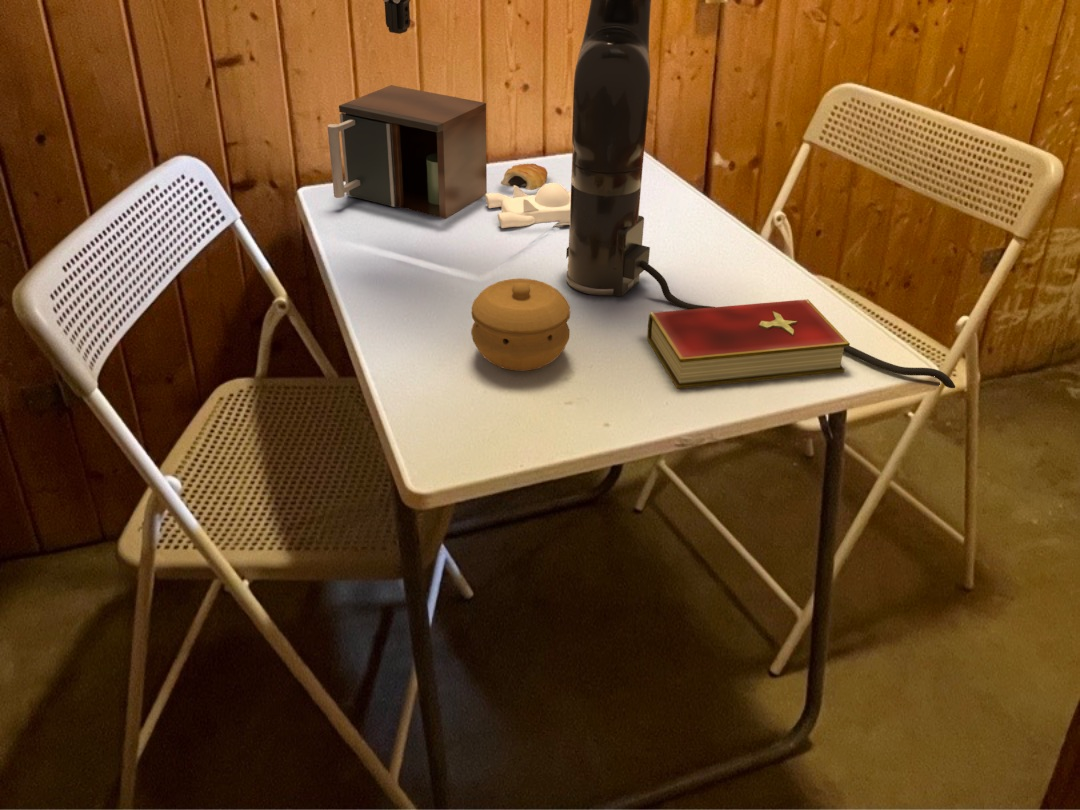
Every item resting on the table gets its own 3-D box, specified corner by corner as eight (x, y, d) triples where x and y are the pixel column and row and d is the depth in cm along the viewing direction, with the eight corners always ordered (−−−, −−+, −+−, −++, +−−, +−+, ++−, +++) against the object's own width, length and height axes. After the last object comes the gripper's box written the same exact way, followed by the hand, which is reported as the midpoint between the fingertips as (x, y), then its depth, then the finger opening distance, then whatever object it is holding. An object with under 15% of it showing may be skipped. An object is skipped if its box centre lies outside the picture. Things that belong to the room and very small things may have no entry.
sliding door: (372, 219, 154) (366, 134, 147) (324, 206, 158) (315, 123, 150) (396, 205, 158) (391, 123, 151) (348, 193, 162) (342, 112, 155)
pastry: (520, 173, 176) (521, 152, 174) (556, 179, 174) (557, 158, 172) (498, 191, 168) (498, 169, 166) (535, 198, 166) (536, 175, 164)
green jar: (462, 198, 162) (461, 156, 159) (446, 207, 159) (444, 164, 155) (438, 192, 164) (436, 150, 160) (422, 201, 161) (420, 159, 157)
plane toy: (625, 226, 157) (627, 190, 154) (500, 238, 152) (500, 202, 149) (603, 201, 165) (605, 167, 162) (484, 212, 161) (484, 177, 157)
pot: (525, 325, 130) (526, 253, 124) (588, 361, 122) (592, 287, 117) (452, 354, 123) (449, 280, 117) (514, 394, 116) (515, 317, 110)
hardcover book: (646, 338, 127) (649, 309, 125) (801, 324, 131) (806, 295, 129) (677, 388, 117) (680, 357, 115) (843, 372, 121) (850, 341, 119)
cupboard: (441, 229, 155) (437, 125, 146) (347, 205, 162) (338, 105, 153) (486, 201, 165) (486, 102, 156) (396, 180, 172) (391, 84, 163)
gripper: (453, -117, 121) (457, 33, 131) (365, -125, 126) (374, 20, 136) (417, -112, 116) (424, 45, 125) (326, -120, 121) (339, 30, 130)
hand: (398, 31), depth 130 cm, fingers closed
